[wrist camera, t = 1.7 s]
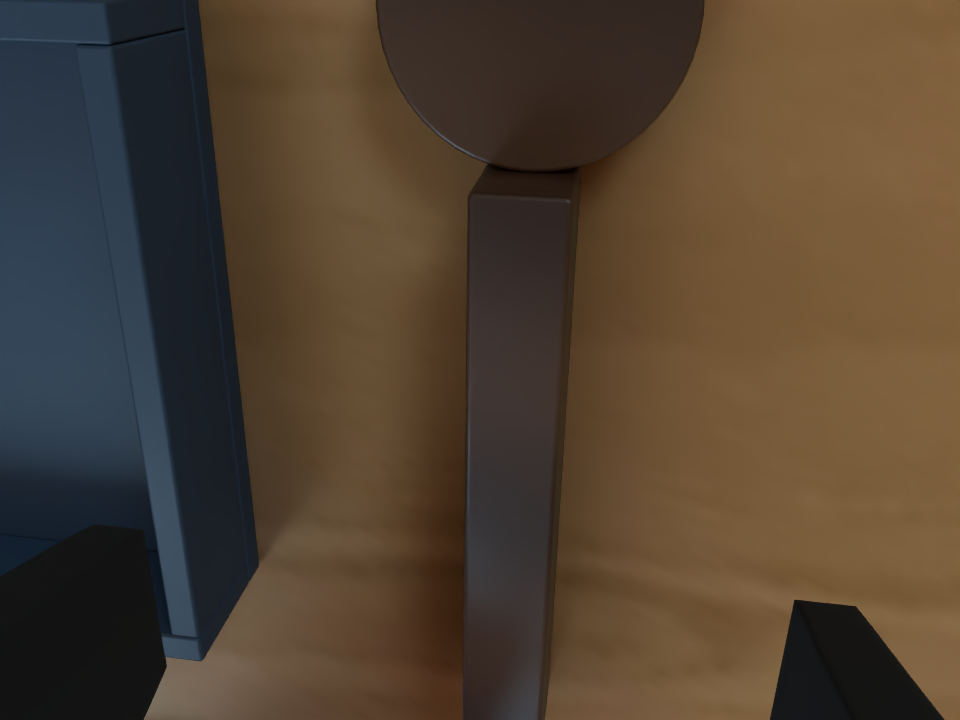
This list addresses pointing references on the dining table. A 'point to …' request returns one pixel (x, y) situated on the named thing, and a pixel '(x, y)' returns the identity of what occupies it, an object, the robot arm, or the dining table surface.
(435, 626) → the dining table surface
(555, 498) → the wooden spoon
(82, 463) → the tray
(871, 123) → the dining table surface
